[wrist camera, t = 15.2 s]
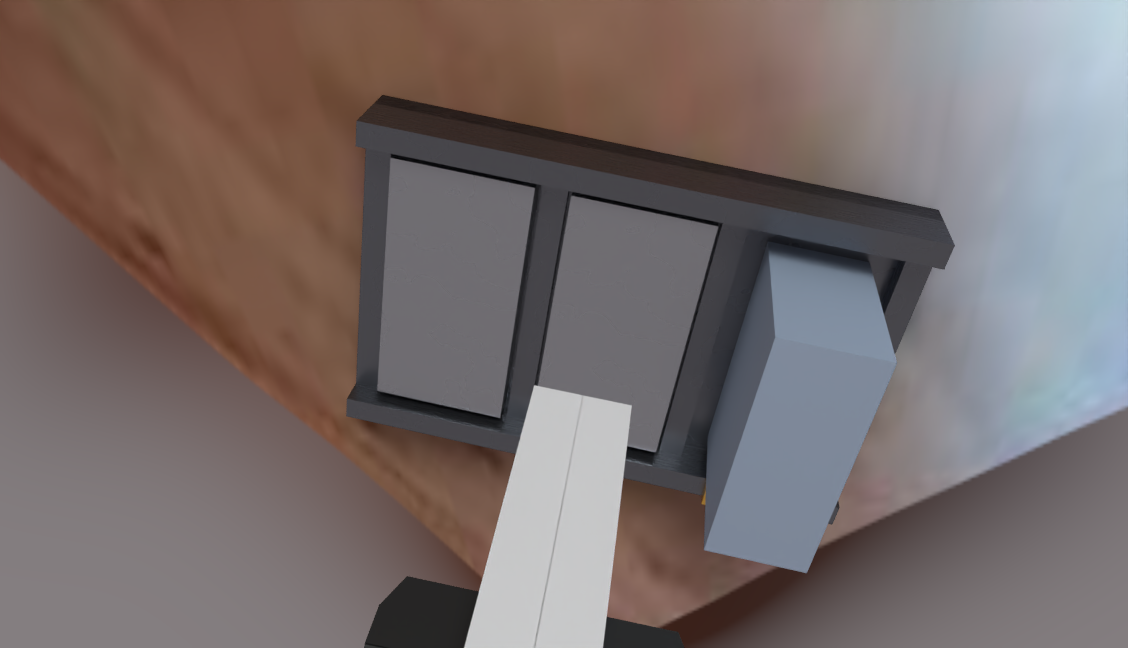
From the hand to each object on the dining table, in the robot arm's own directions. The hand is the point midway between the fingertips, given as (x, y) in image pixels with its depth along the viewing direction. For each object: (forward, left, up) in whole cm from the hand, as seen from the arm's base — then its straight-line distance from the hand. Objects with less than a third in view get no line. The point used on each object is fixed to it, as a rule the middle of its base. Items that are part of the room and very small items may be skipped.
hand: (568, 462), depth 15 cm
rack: (+1, -11, -23) cm, 25 cm away
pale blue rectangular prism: (+8, -11, -22) cm, 26 cm away
